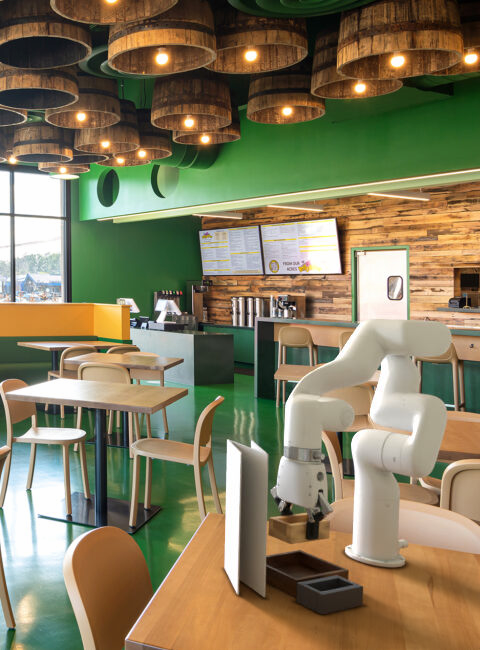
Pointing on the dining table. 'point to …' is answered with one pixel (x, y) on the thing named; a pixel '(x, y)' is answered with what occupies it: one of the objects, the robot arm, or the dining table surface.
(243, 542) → the brochure
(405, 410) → the robot arm
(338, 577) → the frame low
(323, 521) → the frame top
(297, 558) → the holder
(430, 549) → the dining table surface
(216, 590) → the dining table surface
